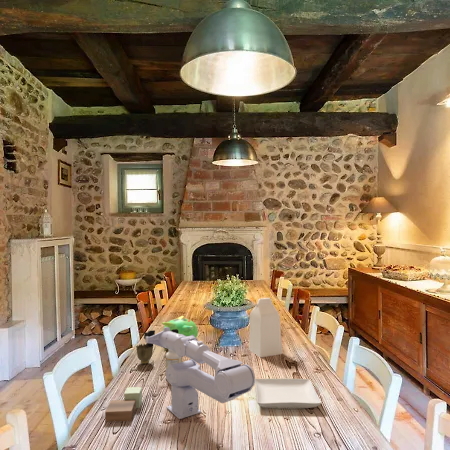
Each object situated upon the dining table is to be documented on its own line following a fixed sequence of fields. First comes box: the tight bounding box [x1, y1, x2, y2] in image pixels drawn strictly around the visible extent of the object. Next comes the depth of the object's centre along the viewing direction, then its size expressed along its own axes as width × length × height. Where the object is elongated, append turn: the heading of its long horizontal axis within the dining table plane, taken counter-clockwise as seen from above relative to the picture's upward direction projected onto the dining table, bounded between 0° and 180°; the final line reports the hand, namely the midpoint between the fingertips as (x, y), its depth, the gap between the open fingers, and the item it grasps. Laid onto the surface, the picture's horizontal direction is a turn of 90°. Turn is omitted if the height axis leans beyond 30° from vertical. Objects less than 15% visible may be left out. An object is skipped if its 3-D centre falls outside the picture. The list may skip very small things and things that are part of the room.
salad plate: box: [254, 378, 322, 409], centre depth 135 cm, size 21×21×3 cm
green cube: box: [123, 386, 143, 409], centre depth 130 cm, size 5×5×5 cm
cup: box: [135, 343, 154, 365], centre depth 171 cm, size 8×7×8 cm
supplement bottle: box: [165, 349, 183, 380], centre depth 153 cm, size 7×7×13 cm
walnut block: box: [104, 399, 137, 423], centre depth 123 cm, size 8×8×4 cm
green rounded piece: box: [161, 315, 199, 339], centre depth 196 cm, size 18×17×15 cm
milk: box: [248, 297, 283, 358], centre depth 186 cm, size 12×12×26 cm
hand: (154, 334), depth 142 cm, fingers open, 7 cm apart
